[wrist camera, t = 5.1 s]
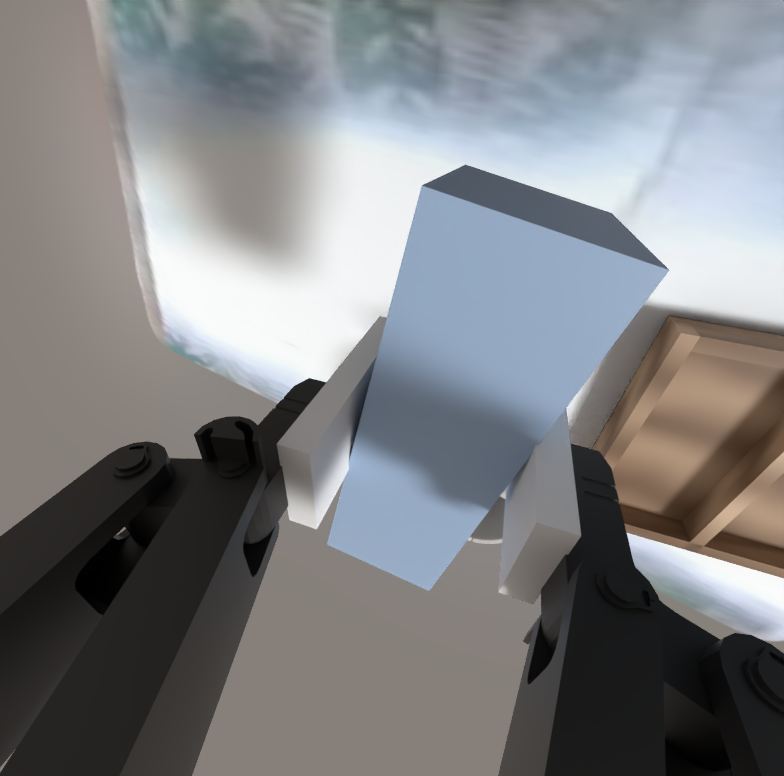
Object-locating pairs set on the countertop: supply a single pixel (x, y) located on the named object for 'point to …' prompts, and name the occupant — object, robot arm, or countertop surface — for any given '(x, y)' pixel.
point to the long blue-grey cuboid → (479, 360)
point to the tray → (704, 444)
